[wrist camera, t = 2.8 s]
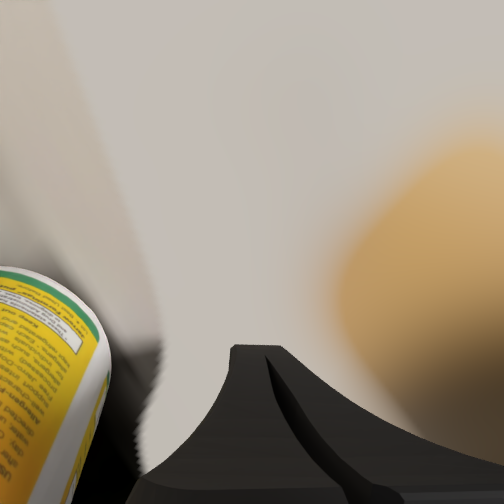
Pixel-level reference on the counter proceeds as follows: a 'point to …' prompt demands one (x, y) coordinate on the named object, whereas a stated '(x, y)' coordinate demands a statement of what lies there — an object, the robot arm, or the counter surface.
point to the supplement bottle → (47, 387)
